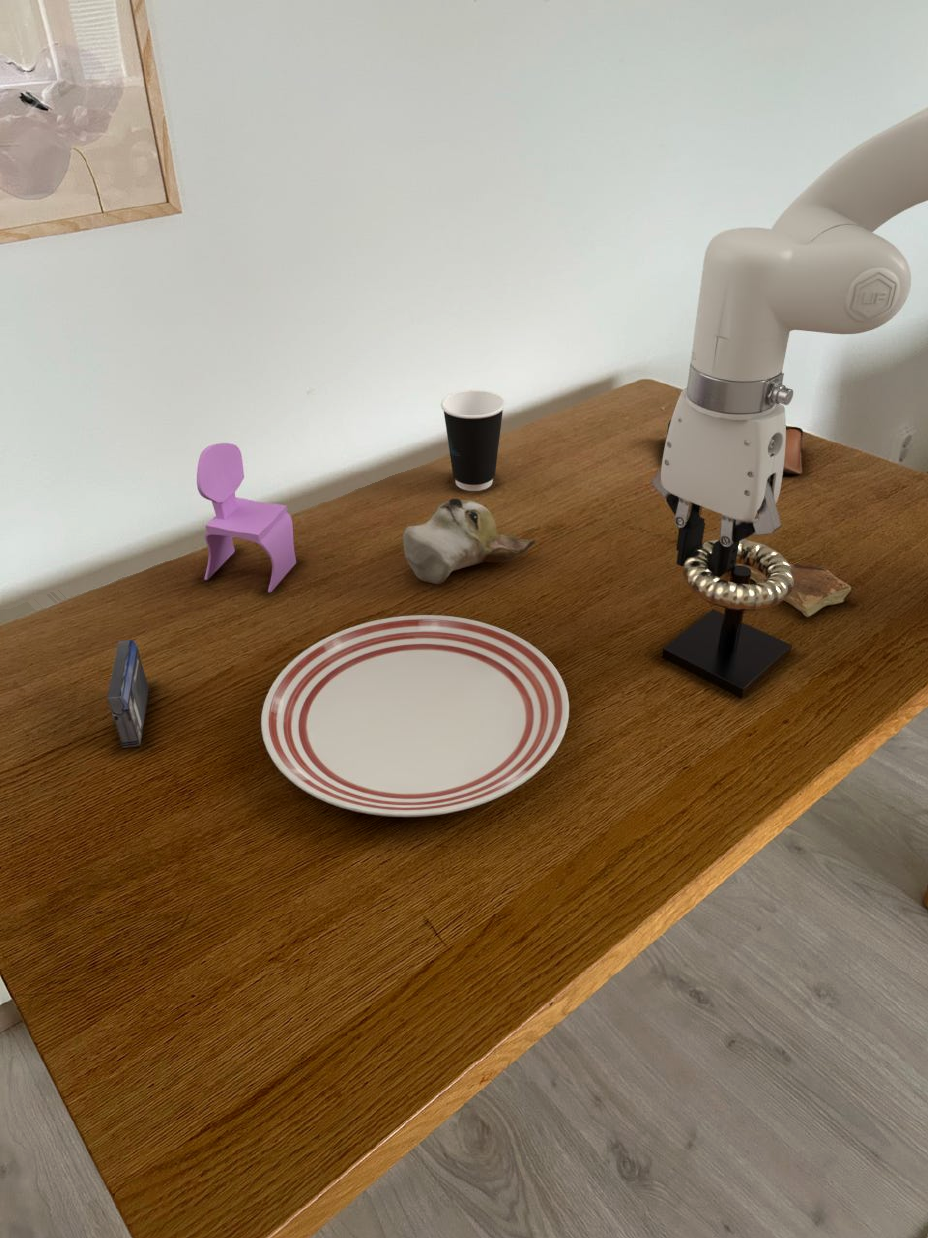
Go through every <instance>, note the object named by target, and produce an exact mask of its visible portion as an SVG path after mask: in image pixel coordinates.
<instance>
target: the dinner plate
mask: <svg viewBox="0 0 928 1238" xmlns="http://www.w3.org/2000/svg"><path fill="white" fill-rule="evenodd" d="M569 718H570V702H569V695H568V691H567V687H566V685H565V682H564V680H563V678H562V675H561V674H560V673H559V671H558V669H557V668H556V667H555V665H554V664H553V663H552V661H550V659H548V657H547V656H546V655H545V654H544V653H543V652H542V651H540V650H539V649H537V648H536V646H534V645H532V644H531V643H530V642H528V641H526V640H525V639H523V638H521V636H518V635H516V634H514V633H512V632H510V631H507V630H505V629H503V628H501V627H497V626H494V625H491V624H489V623H486V622H482V621H478V620H474V619H469V618H464V617H458V616H449V615H437V614H415V615H414V614H413V615H402V616H394V617H393V616H392V617H387V618H381V619H377V620H371V621H368V622H364V623H361V624H357V625H354V626H352V627H349V628H346V629H342V630H340V631H338V632H336V633H333V634H331V635H329V636H327V637H324V638H323V639H321V640H319V641H318V642H316V643H314V644H312V645H311V646H309V647H308V648H307V649H305V650H303V651H302V652H301V653H299V654H298V655H297V656H296V657H295V658H293V660H291V661H290V662H289V663H288V664H287V665H286V667H284V668H283V670H281V672H280V673H279V674H278V675H277V677H276V678H275V680H274V681H273V683H272V685H271V686H270V688H269V690H268V693H267V694H266V697H265V699H264V702H263V706H262V710H261V717H260V728H261V735H262V740H263V743H264V746H265V749H266V752H267V753H268V756H269V757H270V758H271V760H272V762H273V764H274V765H275V766H276V768H277V769H278V770H279V772H281V773H282V775H283V776H284V777H286V778H287V779H288V780H289V781H290V782H291V783H292V784H293V785H295V786H296V787H298V788H299V789H301V791H304V792H305V793H307V795H310V796H312V797H314V798H316V799H318V800H320V801H322V802H325V803H327V804H330V805H332V806H335V807H338V808H341V809H345V810H349V811H351V812H356V813H361V814H366V815H372V816H379V817H390V818H423V817H433V816H442V815H447V814H451V813H458V812H461V811H464V810H468V809H472V808H475V807H478V806H481V805H484V804H487V803H489V802H491V801H494V800H496V799H498V798H501V797H502V796H504V795H508V794H509V793H510V792H512V791H514V790H515V789H516V788H518V787H520V786H522V785H523V784H525V783H526V782H528V780H530V779H531V778H533V777H534V776H535V775H536V774H537V773H538V772H539V771H541V769H543V767H544V766H545V765H546V764H547V763H548V762H549V760H550V759H552V757H553V756H554V754H555V753H556V752H557V751H558V748H559V746H560V745H561V743H562V741H563V739H564V737H565V733H566V730H567V727H568V724H569Z"/></svg>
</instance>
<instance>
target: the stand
mask: <svg viewBox="0 0 928 1238" xmlns="http://www.w3.org/2000/svg"><path fill="white" fill-rule="evenodd" d="M750 578H751V569H750V568H748V567H746V566H742V565H737V566H736V565H735V566H734V567H733V568H732V570H731V571H730V576H729V582H733V583H736V584H751V583H750V582H751V579H750ZM744 614H745V611H741V610H730V609H726V608H724V610H723V612H721V611H720V610H717V609H714V608H713V609H711V610H710V611H709V612H708V613H706V614H705V615H704V616H702V617H701V618H700V619H698V620H697V621H696V622H694V623H693V624H692V625H690V627H688V628H687V629H686V630H685V631H683V632H682V633H680V635H678V636H677V637H675V638H674V639H673V640H672V641H670V642H669V643H668V644H666V645H665V646H664V647H663V648H662V653H661V658H662V659H664V660H666V661H668V662H670V663H671V664H674V665H676V666H678V667H680V668H682V669H683V670H685V671H687V672H690V673H691V674H693V675H695V676H697V677H699V678H701V679H704V680H705V681H707V682H709V683H710V684H713V685H714V686H717V687H719V688H720V689H722V690H724V691H726V692H728V693H730V694H732V695H734V696H736V697H738V698H740V699H743V698H744V697H745V696H746V695H747V694H748V693H749V692H750V691H751V690H752V689H754V688H755V687H756V686H757V685H758V684H759V683H760V682H762V680H764V679H765V678H766V677H767V676H768V675H769V674H770V673H771V672H772V671H773V670H775V669H776V668H777V667H778V666H779V665H780V664H782V663H783V661H784V660H786V659H787V658H788V657H789V656H790V655H791V651H792V648H793V647H792V646H793V645H792V644H790V643H788V642H786V641H783V640H782V639H779V638H777V637H775V636H773V635H771V634H769V633H766V632H764V631H762V630H760V629H758V628H755V627H754V626H752V625H749V624H747V623H745V622H743V618H744Z"/></svg>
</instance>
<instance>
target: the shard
mask: <svg viewBox="0 0 928 1238" xmlns="http://www.w3.org/2000/svg"><path fill="white" fill-rule="evenodd" d="M789 564H790V566H791V567H792V569H793V571H794V585H793V590H792V592H791V593H790V595H788V596H787V597H786V598H785V599H784V600H783V601H784V602H786V603H788V604H790V605H791V606H792V607H794V608H795V609H796V610H798V611H799V612H801V613H802V615H803V616H804V617H806V618H809V617H811V616H813V615H814V614H816V613H817V612H819V611H820V610H821V609H823V608H825V607H826V606H833V605H837V604H842V603H844V602H845V598H847V595H849V593H850V592H851V590H852V586H851V585H849V584H848V583H847V582H844V581H843V580H841V579H839V578H838V577H837V576H836V575H834V574H833V573H832V572H830V570H829V568H825V567H821V566H820V567H819V566H814V565H813V566H812V565H801V564H797V563H789ZM737 565H741V564H735V566H737ZM742 566H745V565H742ZM746 567H748V568H750V569H751V578H750V580H752V581H754V582H755V583H760V582H764V581H765V580H766V579H767V578H766V577H765V575H764V574H763V573H761V572H759V571H758V570H756V569H755V568H752V567H749V566H746Z"/></svg>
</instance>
